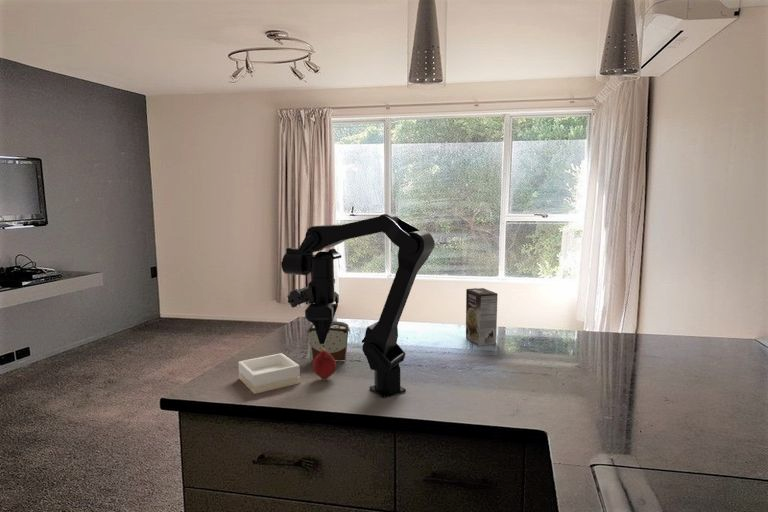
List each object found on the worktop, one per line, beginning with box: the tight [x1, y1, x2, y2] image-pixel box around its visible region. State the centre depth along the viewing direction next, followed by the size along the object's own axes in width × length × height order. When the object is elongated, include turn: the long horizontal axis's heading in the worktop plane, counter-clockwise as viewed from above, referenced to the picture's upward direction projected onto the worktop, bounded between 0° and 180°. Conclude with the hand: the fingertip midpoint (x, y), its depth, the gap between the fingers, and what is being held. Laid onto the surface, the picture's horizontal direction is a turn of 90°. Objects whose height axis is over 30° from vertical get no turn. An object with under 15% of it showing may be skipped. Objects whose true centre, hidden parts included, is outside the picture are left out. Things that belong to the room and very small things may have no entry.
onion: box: [312, 348, 337, 380], centre depth 122 cm, size 6×6×8 cm
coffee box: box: [465, 287, 498, 347], centre depth 153 cm, size 9×6×16 cm
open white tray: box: [238, 352, 301, 395], centre depth 122 cm, size 12×12×4 cm
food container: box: [306, 320, 351, 362], centre depth 139 cm, size 12×6×10 cm, turn 84°
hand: (324, 338), depth 121 cm, fingers open, 9 cm apart
